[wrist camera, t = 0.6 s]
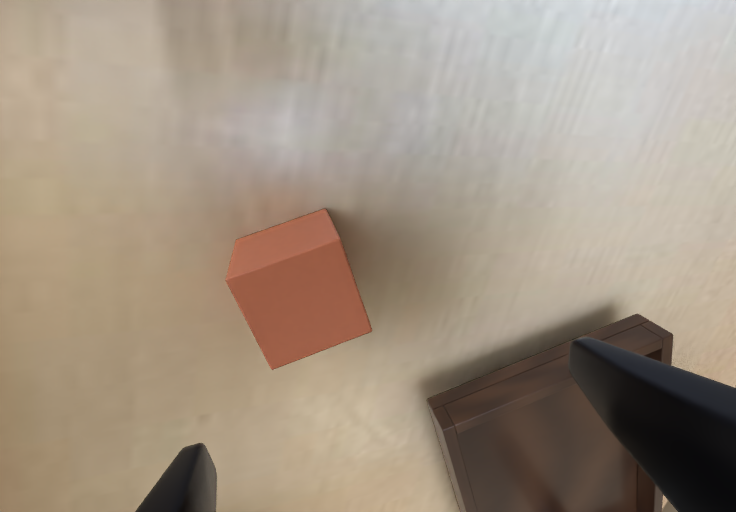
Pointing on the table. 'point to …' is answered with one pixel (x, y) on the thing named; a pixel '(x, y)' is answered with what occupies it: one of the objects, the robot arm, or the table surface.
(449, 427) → the tray
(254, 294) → the block
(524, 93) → the table surface
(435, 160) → the table surface
